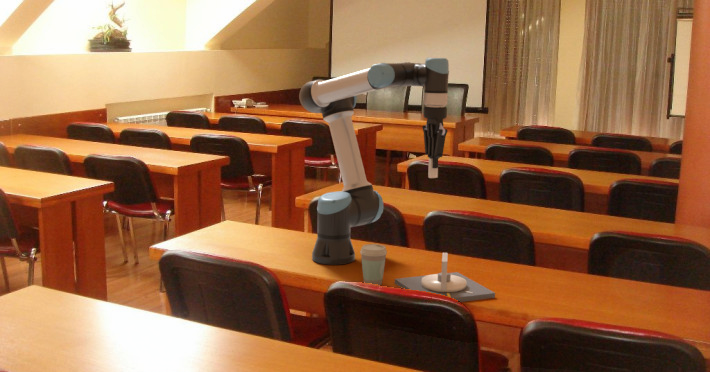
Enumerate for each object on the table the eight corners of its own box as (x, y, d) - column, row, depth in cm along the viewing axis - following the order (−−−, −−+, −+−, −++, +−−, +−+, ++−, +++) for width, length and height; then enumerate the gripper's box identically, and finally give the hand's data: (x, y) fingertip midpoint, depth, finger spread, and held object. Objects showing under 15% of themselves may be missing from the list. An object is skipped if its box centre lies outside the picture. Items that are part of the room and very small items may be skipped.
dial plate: (394, 283, 253) (394, 278, 253) (457, 276, 262) (457, 271, 262) (428, 306, 232) (428, 300, 232) (494, 297, 241) (495, 292, 241)
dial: (422, 277, 255) (423, 245, 253) (466, 279, 253) (467, 248, 251) (419, 293, 238) (421, 260, 236) (466, 296, 236) (468, 262, 234)
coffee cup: (383, 288, 248) (384, 251, 246) (357, 286, 250) (357, 249, 248) (388, 280, 256) (389, 244, 254) (362, 278, 258) (363, 242, 256)
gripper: (455, 107, 252) (452, 180, 256) (436, 104, 263) (433, 173, 268) (434, 107, 249) (432, 181, 253) (416, 104, 260) (413, 174, 265)
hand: (432, 177), depth 260 cm, fingers closed
